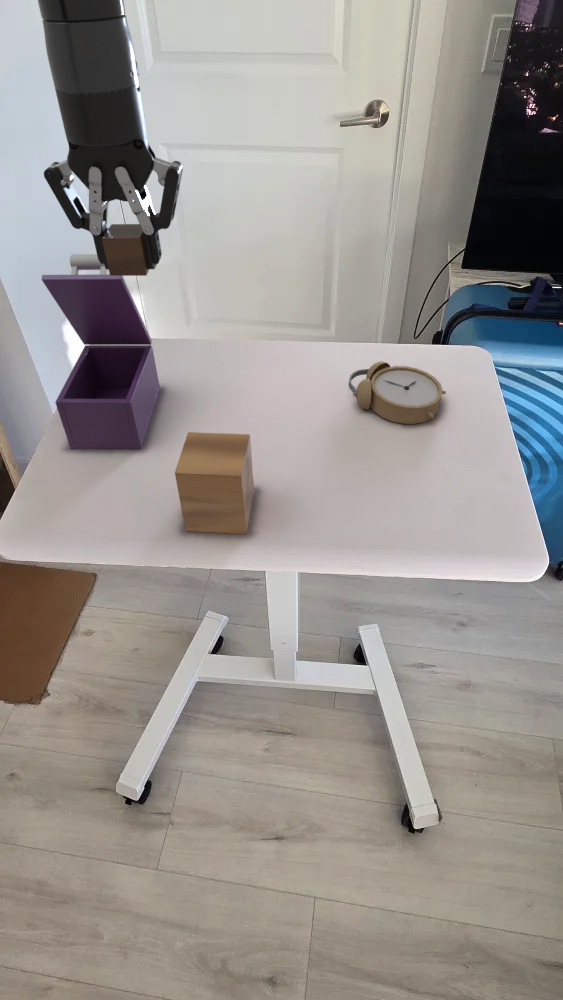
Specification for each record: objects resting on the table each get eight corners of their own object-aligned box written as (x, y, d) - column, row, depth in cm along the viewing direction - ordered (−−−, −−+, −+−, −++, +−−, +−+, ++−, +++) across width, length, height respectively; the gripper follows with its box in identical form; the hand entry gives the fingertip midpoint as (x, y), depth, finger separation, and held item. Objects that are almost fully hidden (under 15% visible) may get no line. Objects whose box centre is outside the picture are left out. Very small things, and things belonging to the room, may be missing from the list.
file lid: (121, 279, 83) (125, 244, 84) (41, 279, 83) (46, 245, 85) (151, 344, 99) (154, 314, 100) (84, 344, 99) (87, 315, 101)
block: (146, 275, 67) (139, 237, 64) (109, 275, 67) (101, 238, 64) (154, 260, 70) (148, 223, 67) (118, 260, 70) (111, 223, 67)
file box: (141, 449, 93) (130, 402, 88) (70, 448, 94) (54, 402, 88) (160, 390, 105) (152, 345, 99) (96, 389, 105) (85, 345, 100)
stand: (246, 534, 80) (241, 475, 73) (185, 531, 81) (174, 472, 74) (254, 492, 86) (250, 434, 79) (197, 489, 87) (187, 431, 80)
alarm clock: (433, 417, 92) (341, 380, 95) (423, 441, 96) (334, 405, 99) (452, 378, 100) (366, 345, 103) (442, 402, 103) (359, 370, 106)
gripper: (4, 90, 54) (57, 281, 66) (166, 87, 53) (191, 281, 65) (33, 73, 60) (78, 253, 71) (181, 70, 59) (201, 252, 71)
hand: (132, 265), depth 68 cm, fingers closed on block, 4 cm apart
